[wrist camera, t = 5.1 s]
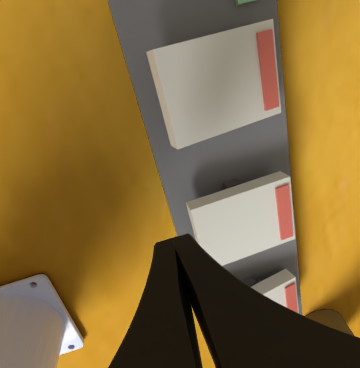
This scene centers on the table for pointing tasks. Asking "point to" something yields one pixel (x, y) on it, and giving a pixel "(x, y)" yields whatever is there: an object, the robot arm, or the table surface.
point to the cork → (330, 320)
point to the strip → (218, 145)
